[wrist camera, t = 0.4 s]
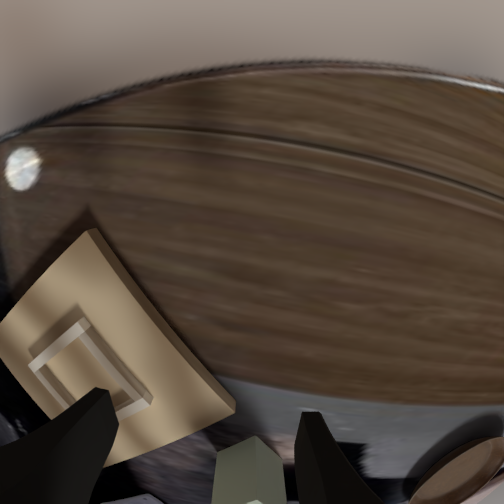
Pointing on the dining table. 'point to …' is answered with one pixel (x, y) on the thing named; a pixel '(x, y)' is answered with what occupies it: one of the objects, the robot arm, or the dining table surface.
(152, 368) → the display plinth
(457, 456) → the saucer
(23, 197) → the dining table surface
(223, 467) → the sage block
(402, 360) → the dining table surface
